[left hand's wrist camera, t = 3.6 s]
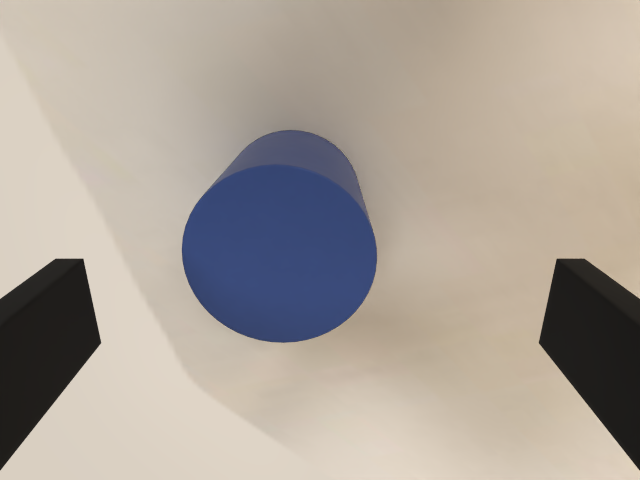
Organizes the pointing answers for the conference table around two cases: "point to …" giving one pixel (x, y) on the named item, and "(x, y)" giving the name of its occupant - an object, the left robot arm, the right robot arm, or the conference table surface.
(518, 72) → the conference table surface
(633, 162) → the conference table surface
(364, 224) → the can
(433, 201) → the conference table surface
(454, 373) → the conference table surface
